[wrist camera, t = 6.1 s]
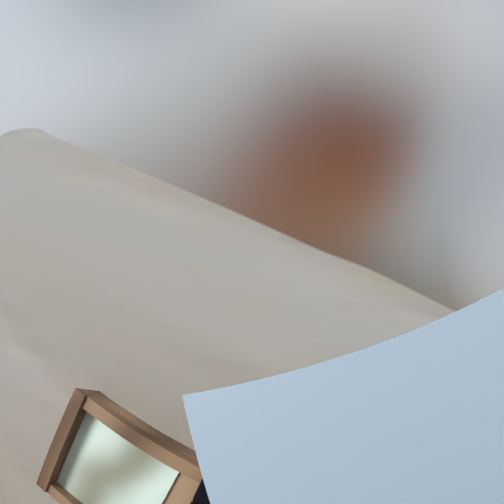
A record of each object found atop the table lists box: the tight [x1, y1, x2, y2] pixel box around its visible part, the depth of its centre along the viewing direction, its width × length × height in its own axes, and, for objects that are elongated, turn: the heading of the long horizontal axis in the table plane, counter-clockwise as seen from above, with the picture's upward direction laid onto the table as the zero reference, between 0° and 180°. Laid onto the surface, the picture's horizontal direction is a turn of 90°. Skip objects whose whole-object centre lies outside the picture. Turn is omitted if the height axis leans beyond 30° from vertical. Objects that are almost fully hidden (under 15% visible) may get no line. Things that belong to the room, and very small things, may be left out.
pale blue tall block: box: [182, 288, 504, 504], centre depth 8 cm, size 5×4×13 cm
